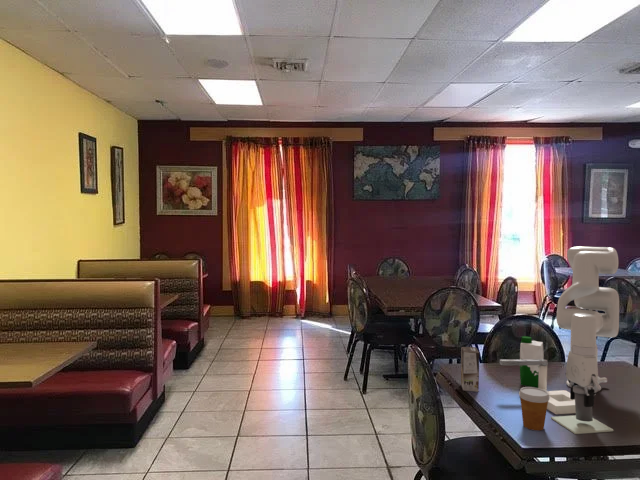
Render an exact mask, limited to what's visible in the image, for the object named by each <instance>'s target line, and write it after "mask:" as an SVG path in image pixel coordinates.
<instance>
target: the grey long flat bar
mask: <svg viewBox="0 0 640 480" xmlns="http://www.w3.org/2000/svg"><path fill="white" fill-rule="evenodd" d="M499 365H501V366H520V365H542V366H547V367H548V359H539V360H520V359H499Z"/></svg>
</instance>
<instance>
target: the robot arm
mask: <svg viewBox="0 0 640 480" xmlns="http://www.w3.org/2000/svg"><path fill="white" fill-rule="evenodd" d="M566 257H567V260H568V264H569V267H570V268H571V270H572V283H571V285H570V286H568V287H567V288H565V290H563V292H562V293H561V295H560V296H559V298H558V300H557V308H556V323H557V326H558V327H559V328H560V329H562V330H569V331H570V350H569V352H568V355H567V358H566V359H567V360H566V369H565V377H566V379H567V380H566V385H567V386H568V387H570V392H569V393H570V399H572V400H575V392H573V386H576V385H580V386H583V387H584V388H585V393H586V395H584V406H585V407H592V408H593V407H594V406H595V396H596V394H597V393H598V392H600V391H602V386H601V385H600V384H601V383H607V382H608V378H607V377H600V376H599V369H598V366H599V365H598V353H599V352H598V348H599V347H598V345H597V337H601V338H602V337H603V338H616V337H617V336H618V335H619V330H620V296H619V292H618V291H617V290H616V289H615V288H611V287H603V286H600V285H599V282H600V281H599V280H600V279H599V278H600V276H599V274H601V275H615V274H616V273H617V272H618V268H619V255H618V252H617V250H616V248H614V247H610V246H609V247H608V246H607V247H606V246H573V247H570V248H568V249H567V252H566ZM572 301H574V305H575V306H576V307H577V308H567V306H568V304H569V303H570V302H572ZM578 308H579V309H578ZM599 311H603V312H605V313H601V312H599ZM588 387H590V388H591V390H590V391H589V389H588Z"/></svg>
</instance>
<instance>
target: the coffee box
mask: <svg viewBox="0 0 640 480" xmlns="http://www.w3.org/2000/svg"><path fill="white" fill-rule="evenodd" d="M460 350H461V351H460V356H461V358H460V359H461V360H460V370H461V371H460V385H461V388H462V391H467V392H480V390H479V389H480V388H479V385H480V382H479V381H480V352H479V350H478V348H477V347H475V346H461V348H460Z"/></svg>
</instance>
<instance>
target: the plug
mask: <svg viewBox="0 0 640 480" xmlns="http://www.w3.org/2000/svg"><path fill="white" fill-rule="evenodd" d="M588 389H589V391H590V390H591V388H590V387H588ZM573 392H575V412H576V413H575V415H576V419H577V420H580V421H587V422H590V421H593V418H594V416H593V407H585V406H584V395H586V393H585V388H584V387H583V386H580V385H576V386H573Z"/></svg>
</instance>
